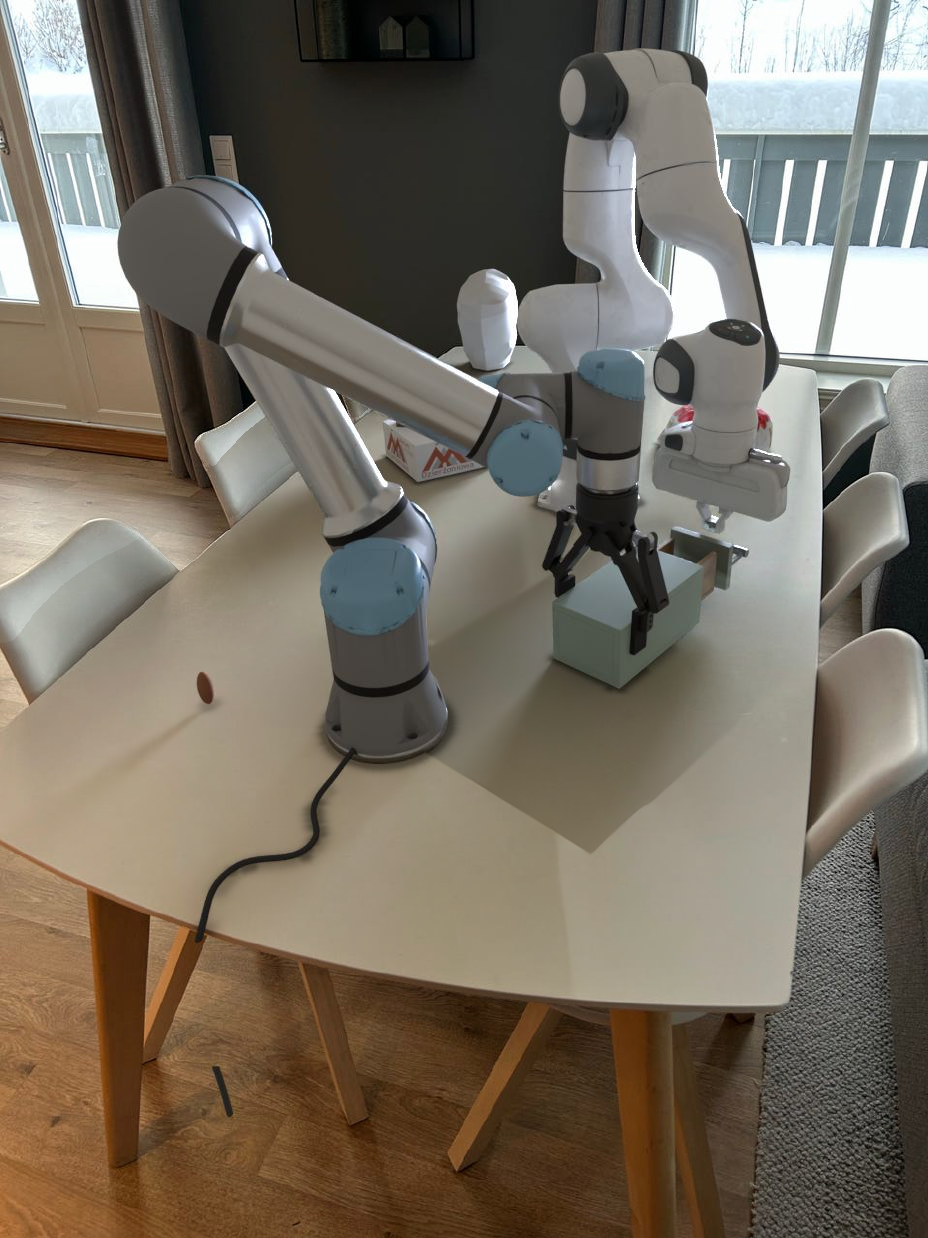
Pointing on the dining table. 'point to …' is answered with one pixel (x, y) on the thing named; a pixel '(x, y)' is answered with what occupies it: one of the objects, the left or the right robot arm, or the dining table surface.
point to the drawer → (704, 556)
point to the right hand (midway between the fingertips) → (712, 530)
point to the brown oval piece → (205, 687)
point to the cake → (762, 430)
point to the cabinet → (622, 620)
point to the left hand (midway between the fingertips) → (600, 634)
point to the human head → (488, 319)
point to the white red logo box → (422, 454)
